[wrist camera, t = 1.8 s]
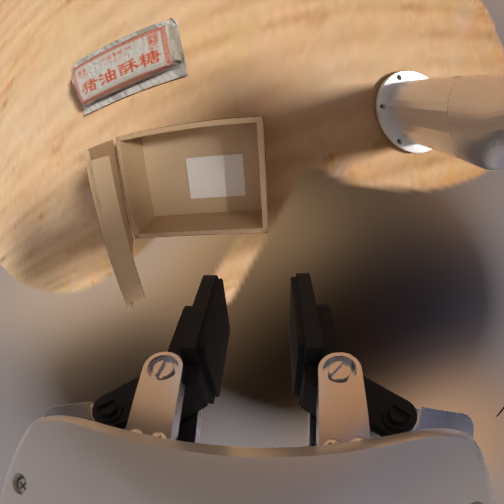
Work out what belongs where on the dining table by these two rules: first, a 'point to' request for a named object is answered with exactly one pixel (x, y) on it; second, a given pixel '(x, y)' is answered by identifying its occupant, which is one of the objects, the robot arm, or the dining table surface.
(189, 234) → the mailer box
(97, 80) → the packaged product
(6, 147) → the dining table surface
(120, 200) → the lid
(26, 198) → the dining table surface
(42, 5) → the dining table surface
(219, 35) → the dining table surface
